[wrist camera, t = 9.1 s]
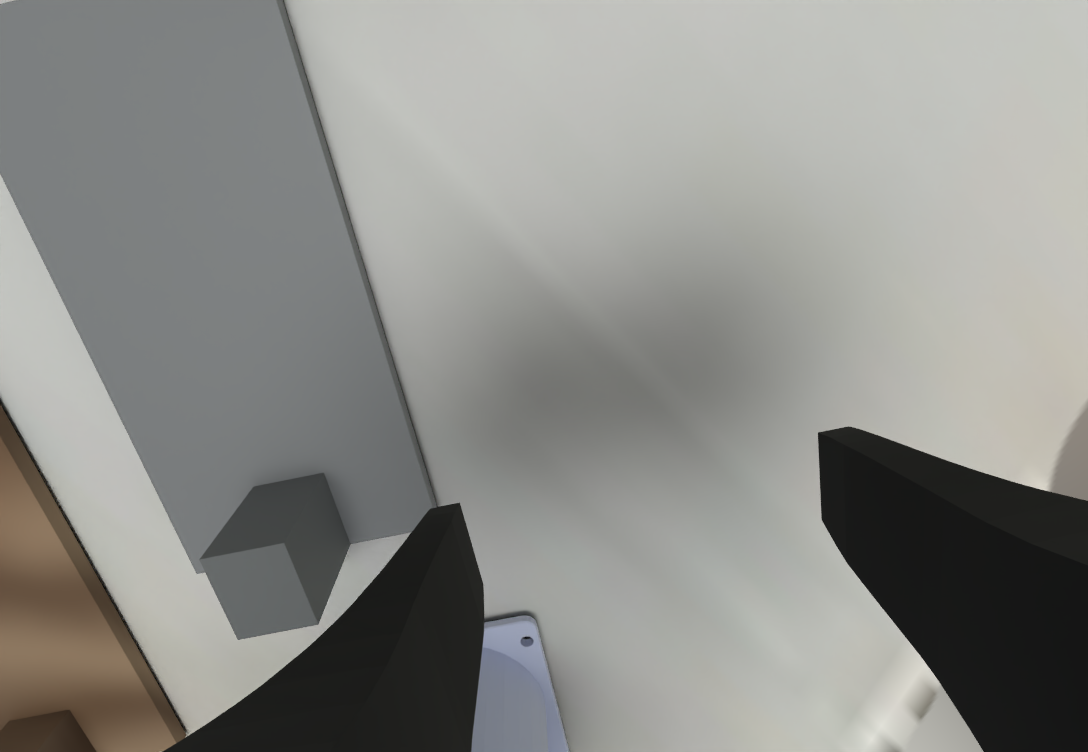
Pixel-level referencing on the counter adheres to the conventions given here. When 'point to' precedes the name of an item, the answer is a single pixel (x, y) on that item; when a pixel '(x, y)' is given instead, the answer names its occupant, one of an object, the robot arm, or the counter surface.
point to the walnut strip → (64, 635)
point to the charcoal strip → (213, 284)
